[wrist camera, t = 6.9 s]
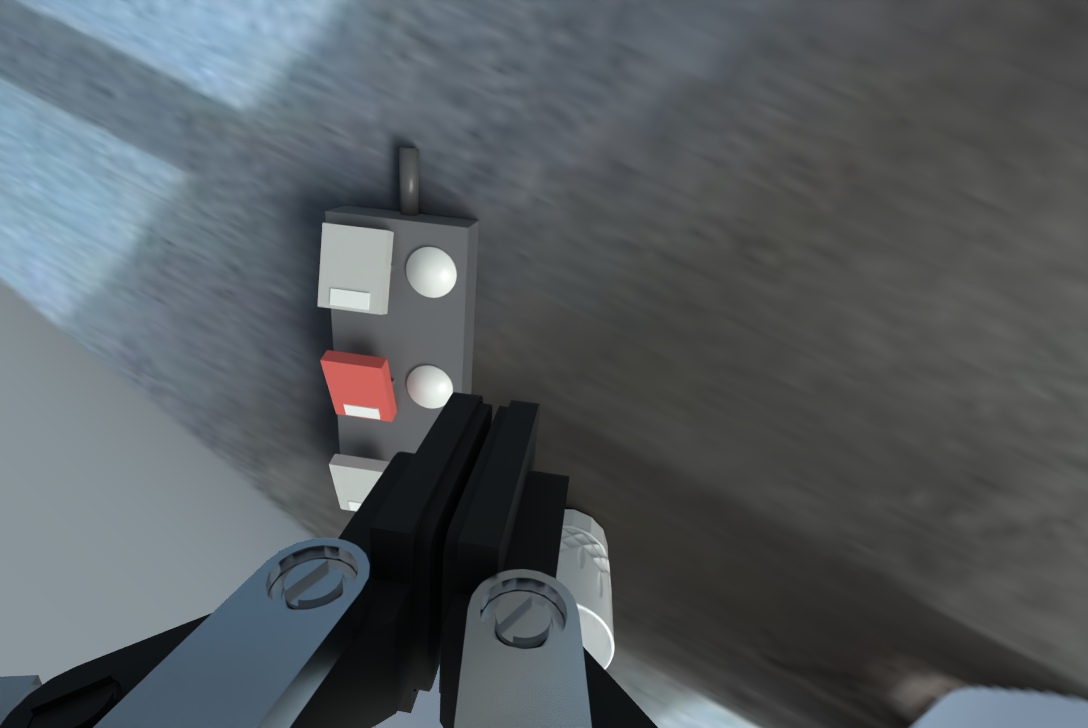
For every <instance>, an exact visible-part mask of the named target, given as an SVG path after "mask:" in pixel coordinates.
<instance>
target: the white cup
mask: <svg viewBox="0 0 1088 728" xmlns="http://www.w3.org/2000/svg"><path fill="white" fill-rule="evenodd" d="M556 580H558V581H559V582H560V583H561V584H563V585H564V586H565V587H567V589H568V590H569V592H570V593H571V594H572V596H573V597H574V599H575V601H576V604H577V607H578V611H579V616H580V625H581V634H582V643H583V647H584V648H585V649H586V650H587V651H588V652H589V653H590V654H591V655H592V656H593V657H594V659H595V660H596V661H597V662H598V663H599V664H600V665H601V666H602V667H603V668H604V669H606V668H607V667H608V665H609V664H610V662H611V660H612V657H613V654H614V632H613V613H612V592H611V580H610V568H609V561H608V547H607V541H606V538H605V534H604V531H603V529H602V528H601V527H600V526H599V525H598V523H597V522H596V521H595V520H594V519H593V518H592V517H590V516H588V515H586V514H584V513H581V512H579V511H577V510H574V509H565V513H564V521H563V528H562V536H561V544H560V552H559V559H558V567H557V575H556Z"/></svg>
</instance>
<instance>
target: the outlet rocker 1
mask: <svg viewBox="0 0 1088 728" xmlns="http://www.w3.org/2000/svg"><path fill="white" fill-rule="evenodd" d="M393 236H394V232H391V231H387V230H379V229H371V228H362V227H354V226H346V225H337V224H329V223H323V224H322V241H321V257H320V273H319V290H318V307H325V308H333V309H341V310H348V311H356V312H364V313H371V314H379V315H383V314H387V310H388V298H389V285H390V273H391V260H392V248H393Z"/></svg>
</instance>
